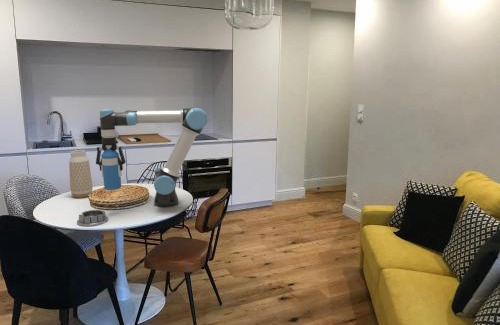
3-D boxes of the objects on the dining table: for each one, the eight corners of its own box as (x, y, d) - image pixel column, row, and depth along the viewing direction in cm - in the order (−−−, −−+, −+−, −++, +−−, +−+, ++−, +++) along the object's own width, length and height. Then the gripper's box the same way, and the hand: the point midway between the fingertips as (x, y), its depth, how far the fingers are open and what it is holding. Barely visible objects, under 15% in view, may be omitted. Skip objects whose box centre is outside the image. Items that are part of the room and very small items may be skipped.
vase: (68, 196, 269) (63, 151, 263) (88, 192, 278) (84, 148, 272) (75, 200, 259) (71, 153, 253) (96, 196, 268) (92, 151, 262)
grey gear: (112, 216, 225) (111, 208, 224) (101, 226, 210) (101, 218, 209) (84, 216, 226) (83, 208, 225) (71, 226, 210) (70, 218, 209)
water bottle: (124, 186, 231) (121, 143, 226) (114, 190, 223) (110, 146, 218) (111, 185, 234) (107, 143, 229) (100, 189, 226) (96, 145, 221)
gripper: (130, 135, 226) (132, 174, 231) (92, 136, 227) (95, 174, 231) (125, 137, 219) (128, 177, 223) (86, 138, 219) (90, 177, 224)
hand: (111, 176), depth 227 cm, fingers closed on water bottle, 9 cm apart
